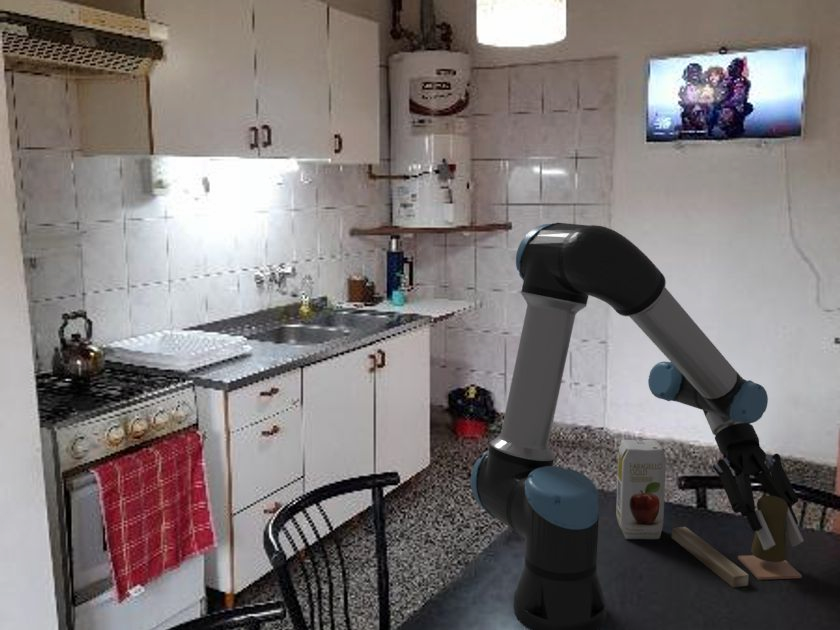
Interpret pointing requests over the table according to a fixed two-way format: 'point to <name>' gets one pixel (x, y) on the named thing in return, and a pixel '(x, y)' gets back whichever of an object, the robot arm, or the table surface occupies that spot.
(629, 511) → the juice carton
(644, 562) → the table surface
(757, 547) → the olive domed peg
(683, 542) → the straightedge
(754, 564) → the end plate
